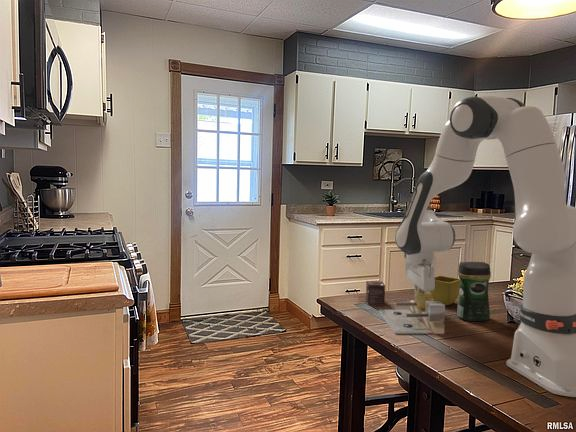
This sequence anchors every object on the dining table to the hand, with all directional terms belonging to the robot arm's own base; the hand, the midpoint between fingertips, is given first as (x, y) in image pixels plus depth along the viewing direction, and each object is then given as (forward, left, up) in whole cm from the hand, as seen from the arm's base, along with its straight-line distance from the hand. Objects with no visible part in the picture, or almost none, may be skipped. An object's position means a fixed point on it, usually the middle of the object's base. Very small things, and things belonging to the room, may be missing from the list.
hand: (419, 297), depth 146 cm
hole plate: (-10, +8, -5) cm, 14 cm away
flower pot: (+11, -13, -6) cm, 18 cm away
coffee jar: (-6, -16, -6) cm, 18 cm away
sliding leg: (-4, +3, -2) cm, 6 cm away
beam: (-8, +3, -5) cm, 10 cm away
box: (+12, +12, -6) cm, 18 cm away
